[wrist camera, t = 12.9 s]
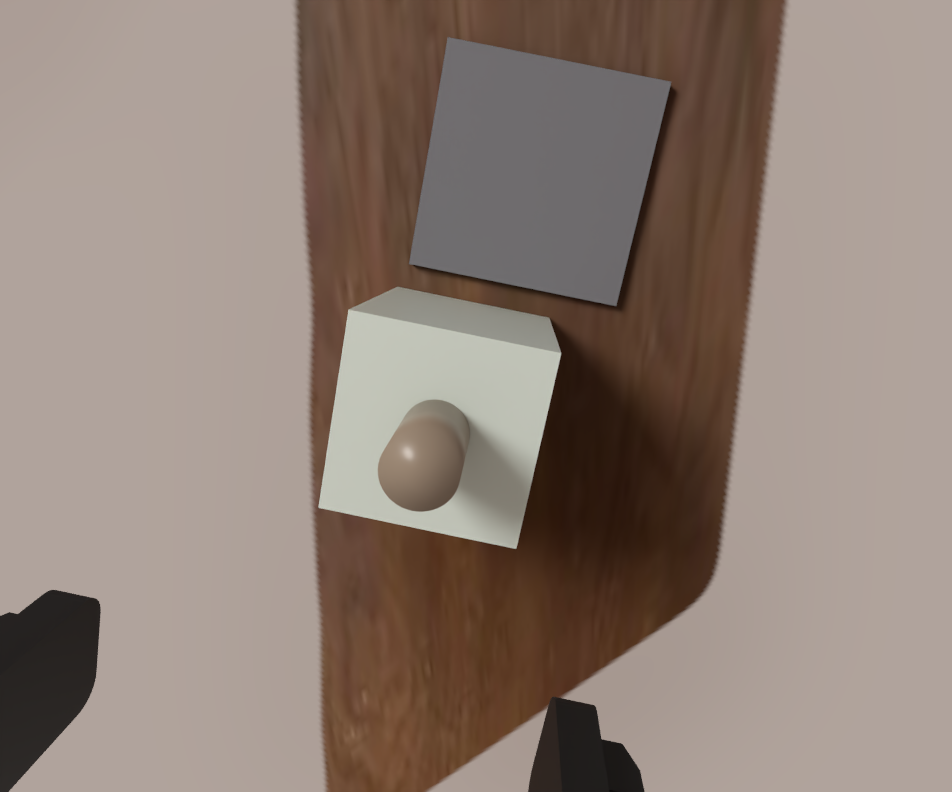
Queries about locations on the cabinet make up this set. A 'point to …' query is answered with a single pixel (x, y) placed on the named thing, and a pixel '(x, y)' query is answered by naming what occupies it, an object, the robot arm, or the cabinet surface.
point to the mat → (536, 170)
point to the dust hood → (439, 414)
